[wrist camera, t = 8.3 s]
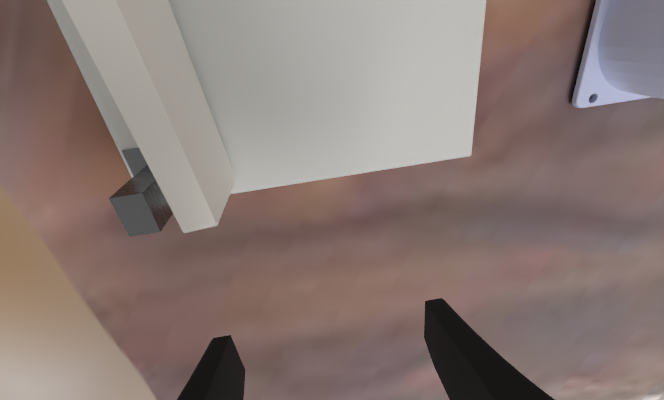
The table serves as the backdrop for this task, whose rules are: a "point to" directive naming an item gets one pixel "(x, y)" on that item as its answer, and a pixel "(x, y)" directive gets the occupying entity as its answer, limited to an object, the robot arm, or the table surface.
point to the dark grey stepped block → (140, 198)
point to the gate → (159, 102)
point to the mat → (322, 83)
